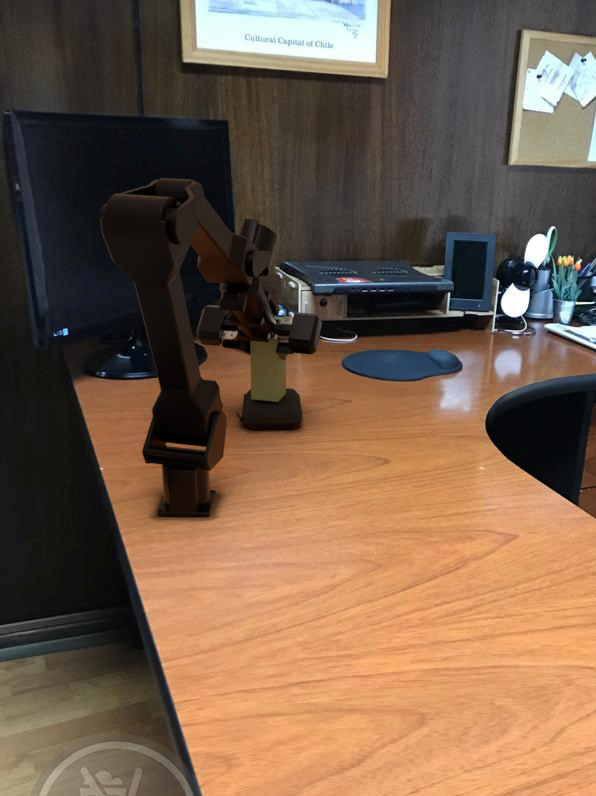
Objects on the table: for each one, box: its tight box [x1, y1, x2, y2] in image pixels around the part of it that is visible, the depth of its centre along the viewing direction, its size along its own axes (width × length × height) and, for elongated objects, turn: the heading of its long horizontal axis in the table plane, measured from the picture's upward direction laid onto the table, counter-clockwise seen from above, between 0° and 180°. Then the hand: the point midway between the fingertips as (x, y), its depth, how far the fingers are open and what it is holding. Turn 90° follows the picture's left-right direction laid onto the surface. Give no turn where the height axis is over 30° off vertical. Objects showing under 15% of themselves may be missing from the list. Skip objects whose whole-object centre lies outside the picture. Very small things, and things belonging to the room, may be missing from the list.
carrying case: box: [235, 387, 303, 430], centre depth 129 cm, size 11×3×15 cm
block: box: [249, 316, 287, 402], centre depth 126 cm, size 5×5×13 cm
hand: (271, 356), depth 127 cm, fingers closed on block, 4 cm apart
